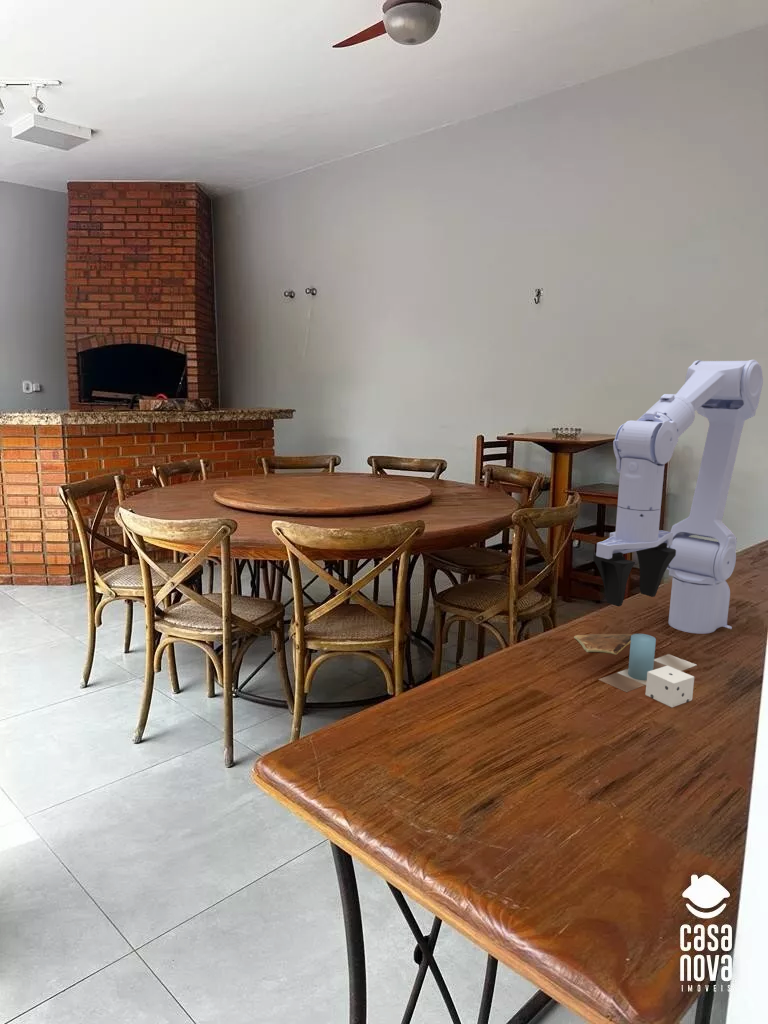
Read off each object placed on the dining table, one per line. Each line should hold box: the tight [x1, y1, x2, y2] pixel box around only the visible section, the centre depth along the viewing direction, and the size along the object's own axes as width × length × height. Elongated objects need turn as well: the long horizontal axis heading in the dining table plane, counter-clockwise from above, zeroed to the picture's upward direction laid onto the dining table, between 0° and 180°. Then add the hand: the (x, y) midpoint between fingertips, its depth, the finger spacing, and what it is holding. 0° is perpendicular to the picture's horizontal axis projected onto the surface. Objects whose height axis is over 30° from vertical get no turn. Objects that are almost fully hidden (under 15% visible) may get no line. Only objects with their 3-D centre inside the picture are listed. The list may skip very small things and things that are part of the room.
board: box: [598, 653, 697, 693], centre depth 96 cm, size 16×5×1 cm, turn 124°
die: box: [645, 666, 695, 708], centre depth 89 cm, size 4×4×4 cm
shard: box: [573, 632, 640, 655], centre depth 106 cm, size 11×8×2 cm
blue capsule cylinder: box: [627, 633, 657, 680], centre depth 95 cm, size 3×3×6 cm
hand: (631, 599), depth 99 cm, fingers open, 7 cm apart
